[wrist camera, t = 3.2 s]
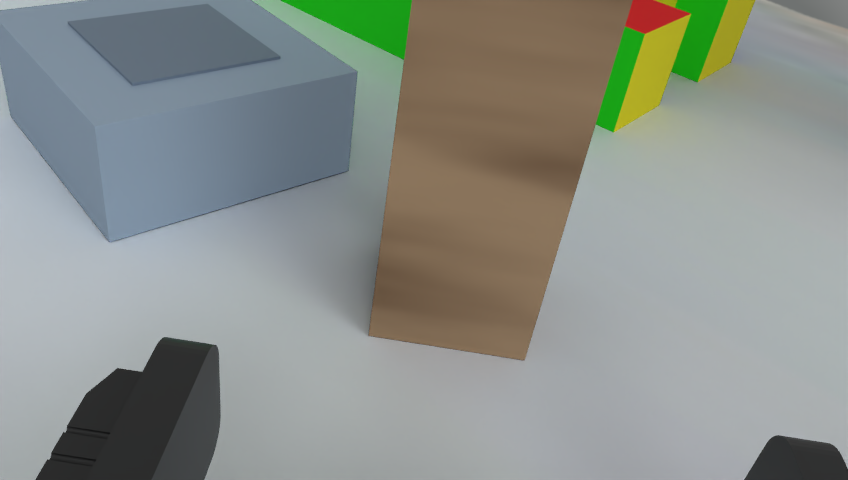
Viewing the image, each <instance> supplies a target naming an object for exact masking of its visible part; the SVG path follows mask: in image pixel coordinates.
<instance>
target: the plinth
mask: <svg viewBox="0 0 848 480" xmlns="http://www.w3.org/2000/svg"><path fill="white" fill-rule="evenodd" d="M0 64H1V69H2V74H3V79H4V84H5V90H6V95H7V100H8V105H9V110H10V115H11V117H12V118H13V119H14V121H15V122H16V123H17V125H18V126H19V127H20V128H21V130H22V131H23V132H24V134H25V135H26V136H27V137H28V139H29V140H30V141H31V143H32V144H33V145H34V146H35V148H36V149H37V150H38V151H39V153H40V154H41V155H42V157H43V158H44V159H45V160H46V162H47V163H48V164H49V166H50V167H51V168H52V169H53V171H54V172H55V173H56V174H57V176H58V177H59V178H60V180H61V181H62V182H63V183H64V185H65V186H66V187H67V189H68V190H69V191H70V192H71V194H72V195H73V196H74V197H75V199H76V200H77V201H78V203H79V204H80V205H81V206H82V208H83V209H84V210H85V212H86V213H87V214H88V215H89V217H90V218H91V219H92V220H93V222H94V223H95V224H96V226H97V227H98V228H99V229H100V231H101V232H102V233H103V235H104V236H105V237H106V238H107V240H108V241H109V242H112V241H115V240H119V239H122V238H125V237H129V236H132V235H135V234H139V233H142V232H145V231H149V230H152V229H155V228H159V227H162V226H165V225H169V224H172V223H175V222H179V221H182V220H185V219H189V218H192V217H195V216H199V215H202V214H205V213H209V212H212V211H215V210H219V209H222V208H225V207H229V206H232V205H235V204H239V203H242V202H245V201H249V200H252V199H255V198H259V197H262V196H265V195H269V194H272V193H275V192H279V191H282V190H285V189H289V188H292V187H295V186H299V185H302V184H305V183H309V182H312V181H315V180H319V179H322V178H325V177H329V176H332V175H335V174H339V173H342V172H345V171H348V169H349V158H350V147H351V136H352V126H353V115H354V104H355V93H356V82H357V71H356V70H354V69H353V68H351V67H350V66H348V65H347V64H345V63H344V62H342V61H341V60H340V59H338V58H337V57H335V56H334V55H332V54H331V53H329V52H328V51H326V50H325V49H323V48H322V47H320V46H319V45H317V44H316V43H314V42H313V41H311V40H310V39H308V38H307V37H305V36H304V35H302V34H301V33H299V32H298V31H296V30H295V29H293V28H292V27H290V26H289V25H287V24H286V23H284V22H283V21H281V20H280V19H278V18H277V17H275V16H274V15H272V14H271V13H269V12H268V11H267V10H265V9H264V8H262V7H261V6H259V5H258V4H256V3H255V2H253V1H252V0H87V1H78V2H69V3H61V4H52V5H43V6H34V7H25V8H16V9H7V10H0Z"/></svg>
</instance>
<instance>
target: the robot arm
mask: <svg viewBox="0 0 848 480" xmlns="http://www.w3.org/2000/svg"><path fill="white" fill-rule="evenodd" d="M219 427H220V379H219V352H218V347H217V346H216V345H212V344H206V343H199V342H193V341H187V340H180V339H174V338H168V337H164V338H162V339H161V340H160V341H159V342H158V344H157V346H156V347H155V349H154V351H153V353H152V355H151V357H150V359H149V361H148V362H147V364H146V366H145V368H144V370H143V372H138V371H132V370H126V369H119V368H117V369H116V370H115V371H114V372H112V373H111V374H110V375H109V376H107V377H106V378H105V379H104V380H103V381H101V382H100V383H99V384H98V385H96V386H95V387H94V388H93V389H91V390H90V391H89V392H88V393H87V394H86V395H85V397H84V398H83V400H82V402H81V403H80V405H79V407H78V409H77V410H76V412H75V414H74V415H73V417H72V419H71V420H70V422H69V424H68V425H67V431H66V432H65V433H64V432H63V434H62V436H61V437H60V439H59V441H58V442H57V444H56V446H55V447H54V449H53V451H52V454H51V458H50V460H47V461H46V463H45V464H44V466H43V468H42V469H41V471H40V473H39V475H38V476H37V478H36V480H204V478H205V476H206V473H207V470H208V468H209V465H210V463H211V460H212V457H213V454H214V451H215V447H216V443H217V438H218V433H219ZM744 480H848V469H847V467H846V464H845V462H844V460H843V458H842V456H841V454H840V452H839V451H838V449H837V448H836V447H835V446H833V445H832V444H829V443H823V442H817V441H810V440H804V439H798V438H791V437H785V436H779V435H778V436H774V437H772V438H771V439H770V440H769V441H768V442H767V444H766V445H765V447H764V449H763V450H762V452H761V453H760V455H759V457H758V458H757V460H756V462H755V463H754V465H753V466H752V468H751V470H750V471H749V473H748V475H747V476H746V478H745V479H744Z"/></svg>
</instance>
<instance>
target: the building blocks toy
mask: <svg viewBox="0 0 848 480" xmlns="http://www.w3.org/2000/svg"><path fill="white" fill-rule="evenodd" d="M281 1H283V2H285V3H287V4H289V5H291V6H294V7H296V8H298V9H300V10H302V11H304V12H306V13H308V14H310V15H312V16H314V17H316V18H318V19H321V20H323V21H325V22H327V23H329V24H331V25H333V26H335V27H337V28H339V29H341V30H343V31H345V32H348V33H350V34H352V35H354V36H356V37H358V38H360V39H362V40H364V41H366V42H368V43H370V44H373V45H375V46H377V47H379V48H381V49H383V50H385V51H387V52H389V53H391V54H393V55H395V56H397V57H400V58H402V59H404V58H405V50H406V42H407V35H408V27H409V19H410V11H411V4H412V0H281ZM754 2H755V0H633V1H632V5H631V8H630V11H629V15H628V18H627V21H626V25H625V28H624V31H623V35H622V38H621V41H620V45H619V48H618V51H617V55H616V58H615V61H614V64H613V68H612V71H611V74H610V78H609V81H608V84H607V88H606V91H605V94H604V98H603V101H602V104H601V108H600V111H599V114H598V118H597V121H596V125H599V126H601V127H603V128H605V129H607V130H609V131H612V132H615V131H617V130H618V129H620V128H622V127H624V126H625V125H627V124H629V123H630V122H632V121H634V120H635V119H637V118H639V117H640V116H642V115H644V114H645V113H647V112H649V111H650V110H652V109H654V108H655V107H657V106H659V104H660V101H661V99H662V96H663V93H664V90H665V87H666V84H667V81H668V79H669V76H670V73H671V72H673V73H676V74H678V75H681V76H683V77H686V78H688V79H691V80H693V81H696V82H699V81H700V80H702V79H704V78H706V77H707V76H709V75H711V74H712V73H714V72H716V71H717V70H719V69H721V68H722V67H724V66H726V65H727V64H729V63H731V60H732V58H733V55H734V53H735V50H736V48H737V45H738V43H739V40H740V38H741V35H742V33H743V30H744V27H745V25H746V22H747V20H748V17H749V15H750V12H751V10H752V7H753V5H754Z"/></svg>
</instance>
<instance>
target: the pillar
mask: <svg viewBox="0 0 848 480" xmlns="http://www.w3.org/2000/svg"><path fill="white" fill-rule="evenodd" d="M632 1H633V0H412V4H411V11H410V19H409V27H408V35H407V42H406V50H405V58H404V65H403V73H402V81H401V89H400V96H399V104H398V112H397V120H396V127H395V135H394V143H393V151H392V158H391V166H390V174H389V181H388V189H387V197H386V205H385V212H384V220H383V228H382V236H381V243H380V251H379V259H378V267H377V274H376V282H375V290H374V298H373V305H372V313H371V321H370V328H369V336H374V337H380V338H387V339H393V340H399V341H405V342H412V343H418V344H424V345H431V346H437V347H443V348H450V349H456V350H462V351H469V352H475V353H481V354H488V355H494V356H500V357H507V358H513V359H519V360H525V357H526V354H527V350H528V347H529V344H530V340H531V337H532V334H533V330H534V327H535V324H536V320H537V317H538V314H539V310H540V307H541V304H542V300H543V297H544V294H545V290H546V287H547V284H548V281H549V277H550V274H551V271H552V267H553V264H554V261H555V257H556V254H557V251H558V247H559V244H560V241H561V237H562V234H563V231H564V227H565V224H566V221H567V217H568V214H569V211H570V207H571V204H572V201H573V197H574V194H575V191H576V187H577V184H578V181H579V177H580V174H581V171H582V168H583V164H584V161H585V158H586V154H587V151H588V148H589V144H590V141H591V138H592V134H593V131H594V128H595V124H596V121H597V118H598V114H599V111H600V108H601V104H602V101H603V98H604V94H605V91H606V88H607V84H608V81H609V78H610V74H611V71H612V68H613V64H614V61H615V58H616V55H617V51H618V48H619V45H620V41H621V38H622V35H623V31H624V28H625V25H626V21H627V18H628V15H629V11H630V8H631V5H632Z"/></svg>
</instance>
